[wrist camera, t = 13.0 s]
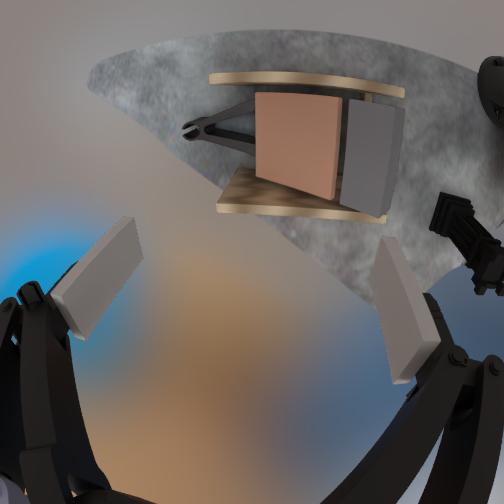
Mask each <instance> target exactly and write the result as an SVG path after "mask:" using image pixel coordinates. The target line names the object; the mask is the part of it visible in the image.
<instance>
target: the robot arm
mask: <svg viewBox="0 0 504 504" xmlns="http://www.w3.org/2000/svg"><path fill="white" fill-rule="evenodd" d="M478 89H479V95H480V99H481V102H482V105H483V107H484V109H485V111H486V113H487V115H488V116H489V118H490V119H491V120H492V121H493V122H494V123H495V124H496V125H497V126H498V127H500V128H502V129H504V57H501V56H491V57H488V58H486V59H485V60H484V61H483V62H482V64H481V66H480V69H479V73H478ZM142 259H143V254H142V250H141V246H140V242H139V237H138V233H137V229H136V225H135V220H134V217H122V218H121V219H120V220H119V221H118V222H117V223H116V224H115V225H114V226H113V227H112V228H111V229H110V230H109V231H108V232H107V233H106V234H105V235H104V236H103V237H102V238H101V239H100V240H99V241H98V242H97V243H96V244H95V245H94V246H93V247H92V248H91V249H90V250H89V251H88V252H87V253H86V254H85V255H84V256H83V257H82V258H81V259H80V260H79V261H77V262H76V263H74V264H73V265H71V267H70V268H69V269H68V270H67V271H66V273H64V274H63V275H62V276H61V278H60V279H59V280H58V281H57V282H56V283H55V284H54V286H53V287H52V288H51V289H50V290H49V291H48V293H47V294H46V295H44V293H43V291H42V289H41V287H40V285H39V283H38V282H37V281H30V282H27V283H25V284H24V285H23V286H21V288H20V289H19V290H18V292H17V296H18V298H19V300H20V302H21V303H22V305H19V304H18V302H17V300H16V298H14V297H9V298H7V299H5V300H4V301H3V302H2V303H1V304H0V504H156V503H153V502H150V501H147V500H144V499H142V498H139V497H135V496H132V495H128V494H125V493H121V492H118V491H115V490H112V488H111V486H110V483H109V482H108V479H107V478H106V476H105V474H104V473H103V472H102V471H101V470H100V468H99V467H98V465H97V463H96V461H95V458H94V455H93V452H92V449H91V446H90V442H89V439H88V435H87V432H86V429H85V425H84V420H83V416H82V413H81V408H80V404H79V399H78V394H77V389H76V383H75V377H74V371H73V365H72V357H71V349H70V340H69V336H68V334H67V332H68V330H69V329H70V330H71V331H72V333H73V335H74V336H75V337H76V338H79V339H82V340H85V341H87V340H88V338H89V336H90V335H91V333H92V332H93V330H94V328H95V327H96V325H97V324H98V322H99V321H100V319H101V317H102V316H103V315H104V313H105V312H106V310H107V309H108V307H109V306H110V304H111V303H112V301H113V300H114V298H115V297H116V295H117V294H118V292H119V291H120V290H121V288H122V287H123V285H124V284H125V282H126V281H127V280H128V278H129V277H130V276H131V274H132V273H133V271H134V270H135V269H136V267H137V266H138V265H139V263H140V262H141V260H142ZM369 281H370V284H371V288H372V291H373V295H374V299H375V303H376V307H377V310H378V315H379V319H380V323H381V327H382V331H383V336H384V340H385V345H386V349H387V354H388V360H389V366H390V371H391V377H392V382H393V384H404V383H409V382H410V381H411V380H412V379H413V377H414V376H416V380H417V384H416V385H415V386H414V388H412V390H411V391H410V392H409V393H408V394H407V395H406V396H407V399H406V401H405V402H404V404H403V405H402V407H401V408H400V410H399V411H398V413H397V414H396V416H395V418H394V419H393V420H392V422H391V423H390V425H389V426H388V427H387V429H386V430H385V431H384V433H383V434H382V436H381V437H380V438H379V439H378V441H377V442H376V443H375V445H374V446H373V447H372V448H371V450H370V451H369V452H368V453H367V454H366V456H365V457H364V458H363V459H362V460H361V462H360V463H359V464H358V465H357V466H356V467H355V469H354V470H353V471H352V472H351V473H350V474H349V475H348V476H347V477H346V479H344V480H343V482H342V483H341V484H340V485H339V486H338V487H337V488H336V489H335V490H334V491H333V492H332V493H331V494H330V495H329V496H328V497H326V498H325V499H324V500H323V501H322V502H321V503H320V504H396V503H397V502H398V500H399V499H400V498H401V496H402V495H403V494H404V492H405V491H406V490H407V488H408V487H409V485H410V484H411V483H412V481H413V480H414V478H415V477H416V475H417V474H418V472H419V471H420V469H421V467H422V466H423V464H424V463H425V461H426V459H427V458H428V455H429V454H430V452H431V450H432V449H433V447H434V445H435V444H436V441H437V440H438V438H439V436H440V434H441V432H442V430H443V428H444V431H443V435H442V439H441V443H440V446H439V449H438V452H437V456H436V459H435V462H434V465H433V468H432V471H431V473H430V476H429V479H428V481H427V484H426V486H425V489H424V491H423V493H422V496H421V498H420V500H419V503H418V504H487V503H488V500H489V496H490V493H491V489H492V486H493V482H494V479H495V474H496V470H497V466H498V461H499V456H500V450H501V444H502V437H503V429H504V363H503V361H502V360H501V359H500V358H499V357H497V356H496V355H488V356H487V357H486V358H485V360H484V361H483V362H480V361H476V360H472V359H469V357H468V354H467V353H466V351H465V350H464V349H463V348H461V347H460V346H457V345H455V344H454V342H453V339H452V337H451V334H450V331H449V329H448V327H447V324H446V322H445V320H444V317H443V314H442V312H440V311H441V310H440V308H439V306H438V303H437V301H436V300H435V299H434V298H433V297H432V296H431V294H429V293H422V292H421V289H420V287H419V285H418V283H417V280H416V278H415V276H414V274H413V272H412V270H411V268H410V266H409V264H408V262H407V260H406V258H405V256H404V254H403V252H402V250H401V248H400V246H399V244H398V242H397V240H396V238H395V237H387V236H382V237H381V240H380V244H379V248H378V251H377V255H376V258H375V261H374V265H373V268H372V271H371V274H370V277H369ZM12 335H13V336H14V337H15V339H16V340H17V343H16V345H15V344H14V343H13V341H12V340H11V338H12ZM444 426H445V427H444ZM25 488H26V492H27V495H28V496H27V495H25V494H24V493H25ZM71 491H73V492H74V493H76V495H77V496H76V497H73V495H72V492H71Z"/></svg>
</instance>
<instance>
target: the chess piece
mask: <svg viewBox="0 0 504 504" xmlns="http://www.w3.org/2000/svg"><path fill="white" fill-rule="evenodd" d="M470 203H471V201H470V200H469V199H465V198H462V197H458V196H454V195H450V194H447V193H443V192H440V195H439V198H438V202H437V205H436V208H435V212H434V215H433V218H432V221H431V224H430V227H429V230H430V231H434V232H435V233H436V234H440V235H441V236H443V237H449V238H450V239H451V241H452V242H453V243H454V244H455V246H456V247H457V248H458V250H459V251H460V252H461V254H462V255H463V257H464V258H465V259H466V261H467V263H466V266H467V268H471V269H473V271H474V272H475V273H474V275H473V277H472V279H471V280H472V281H473V283H474V285H475V288H474V291H475V293H476V295H484V293H485V291H486V290H487V288H489V289H495V288H496V290H495V292H496V293H497V295H498V296H504V283H503V282H502V281H504V247H501V246H500V245H501V241H500V240H498V239H494V238H493V237H492V236H491V234H490V233H489V232H488V231H487V230H486V229H485V228H484V227H483V226H482V225H481V224H480V223H479V222H478V221H477V220H476V219H475V218H474V217H473V216H474V213H475V211H474V210H473V209H472V208H473V206H472V205H471V204H470Z"/></svg>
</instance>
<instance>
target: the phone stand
mask: <svg viewBox="0 0 504 504" xmlns="http://www.w3.org/2000/svg"><path fill="white" fill-rule="evenodd" d="M252 111H255V99H253V100H250V101H248V102H245V103H242V104H240V105H237V106H235V107H232V108H230V109H227V110H225V111H223V112H220V113H218V114H216V115H213V116H211V117H201V118H198V119H195V120H193V121H190V122H187V123H186V124H184V126H183V127H182V129H183V130H184V129H186V128H189V127H191V126H193V125H197V126H198V127H199V130H201V131H200V132H199V131H198V130H197V128H196V129H194V130H192V131H190V132H188V133H186V134H184V135H183V137H184V138H185V139H186V140H189V141H194V140H205V141H209V142H212V143H216V144H219V145H223V146H226V147H229V148H232V149H236V150H239V151H242V152H245V153H248V154H251V155H254V156H256V137H255V136H250V135H246V134H241V133H237V132H232V131H227V130H222V129H217V128H216V127H215V122H218V121H222V120H225V119H228V118H231V117H234V116H238V115H241V114H245V113H248V112H252Z"/></svg>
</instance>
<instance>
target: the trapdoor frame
mask: <svg viewBox="0 0 504 504" xmlns="http://www.w3.org/2000/svg"><path fill="white" fill-rule="evenodd" d="M209 84H220V85H289V86H307V87H319V88H329V89H338V90H346V91H353V92H360V93H362V101H368V102H372V94H373V95H382V96H390V97H398V98H404V93H405V88H401V87H397V86H393V85H388V84H383V83H378V82H373V81H368V80H362V79H356V78H349V77H342V76H334V75H324V74H313V73H299V72H268V71H260V72H229V73H215V74H209ZM342 181H343V174H337V178H336V187H335V195H334V198H333V199H332V200H328V199H325V198H322V197H319V196H316V195H313V194H310V193H307V192H304V191H301V190H298V189H295V188H292V187H289V186H286V185H283V184H280V183H277V182H273V181H270V180H267V179H264V178H260V177H257V176H256V169H248V168H238V170H237V171H236V173H235V174H234V176H233V178H232V179H231V181H230V182H229V184H228V185H227V187H226V189H225V190H224V192H223V193H222V195H221V197H220V198H219V200H218V201H217V203H216V207H217V212H221V213H245V214H265V215H282V216H298V217H312V218H326V219H338V220H350V221H361V222H372V223H382V224H385V222H386V218H387V214H386V213H385V214H383V215H382V216H381V217H380V218H379V219H378V218H375V217H373V216H370V215H368V214H365V213H363V212H360V211H358V210H355V209H352V208H350V207H347V206H344V205H341V204H340V197H341V189H342Z"/></svg>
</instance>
